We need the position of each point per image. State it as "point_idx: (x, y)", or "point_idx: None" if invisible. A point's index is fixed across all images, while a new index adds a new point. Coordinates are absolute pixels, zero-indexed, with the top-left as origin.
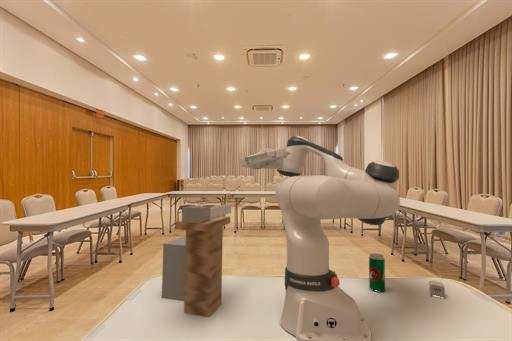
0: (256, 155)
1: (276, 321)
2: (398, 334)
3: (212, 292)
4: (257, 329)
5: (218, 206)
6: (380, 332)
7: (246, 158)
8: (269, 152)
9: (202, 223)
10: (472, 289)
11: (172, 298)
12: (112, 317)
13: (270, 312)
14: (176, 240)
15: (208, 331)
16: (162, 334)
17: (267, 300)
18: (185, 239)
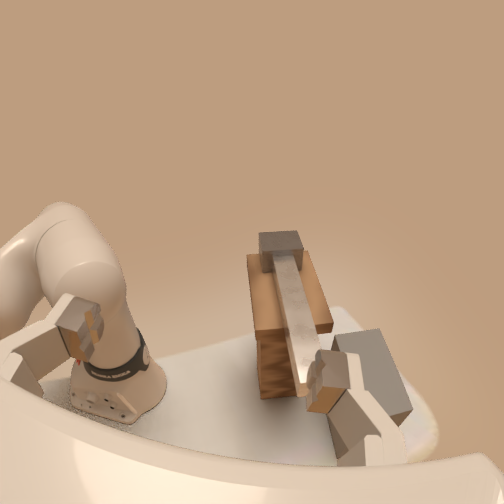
0: (234, 462)
1: (171, 382)
2: (49, 383)
3: (257, 354)
4: (190, 361)
5: (297, 317)
6: (63, 384)
7: (315, 357)
8: (49, 321)
9: (258, 254)
10: None
11: None
12: (360, 327)
13: (182, 400)
14: (383, 355)
15: (242, 343)
16: None
17: (194, 432)
18: (376, 370)
